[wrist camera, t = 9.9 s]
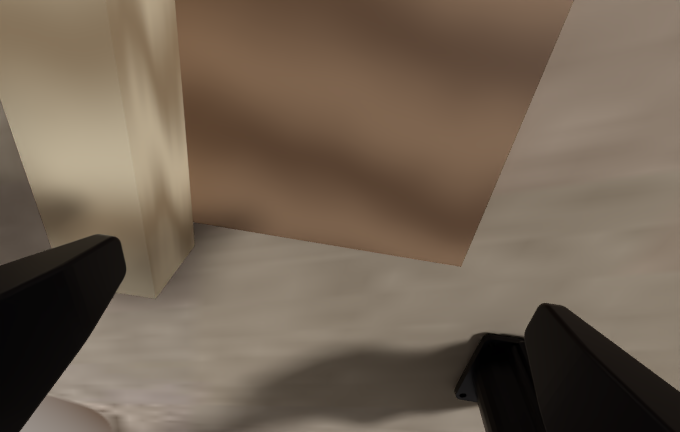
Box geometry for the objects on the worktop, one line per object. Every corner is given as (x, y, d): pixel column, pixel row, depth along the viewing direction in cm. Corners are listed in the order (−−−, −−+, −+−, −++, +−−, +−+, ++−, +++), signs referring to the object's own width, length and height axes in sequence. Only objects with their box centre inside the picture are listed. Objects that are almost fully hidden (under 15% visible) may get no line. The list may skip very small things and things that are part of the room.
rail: (194, 245, 19) (155, 299, 15) (120, 233, 19) (63, 284, 15) (140, -422, 8) (-15, -711, 5) (-27, -454, 8) (-298, -768, 5)
